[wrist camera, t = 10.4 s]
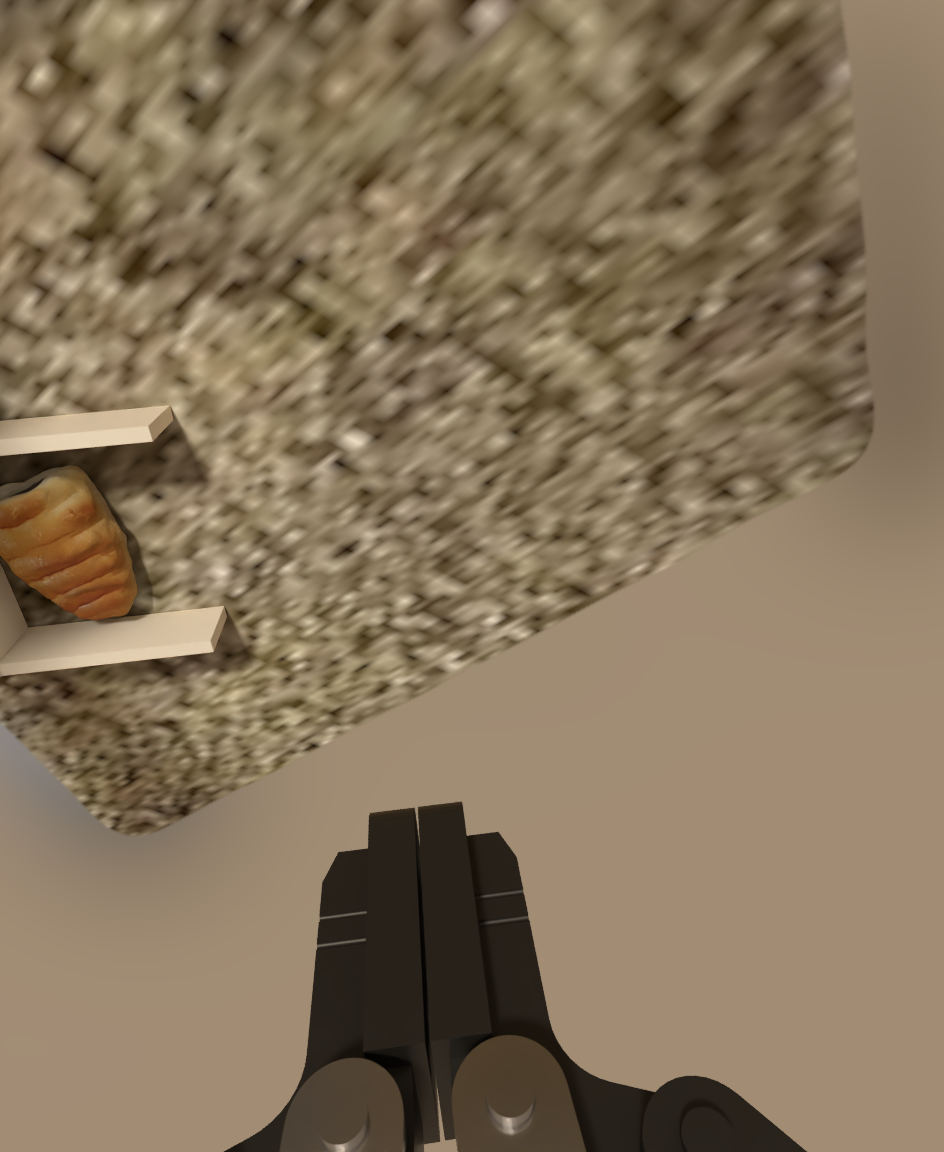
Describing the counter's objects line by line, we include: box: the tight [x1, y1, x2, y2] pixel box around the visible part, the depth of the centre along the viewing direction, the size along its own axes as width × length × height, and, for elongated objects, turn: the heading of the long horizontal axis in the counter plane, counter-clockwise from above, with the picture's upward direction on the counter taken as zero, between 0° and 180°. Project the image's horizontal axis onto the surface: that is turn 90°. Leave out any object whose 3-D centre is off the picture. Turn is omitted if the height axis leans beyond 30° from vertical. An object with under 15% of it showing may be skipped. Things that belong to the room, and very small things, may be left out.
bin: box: [0, 405, 227, 676], centre depth 40 cm, size 14×13×4 cm
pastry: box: [0, 465, 138, 620], centre depth 40 cm, size 9×7×4 cm
